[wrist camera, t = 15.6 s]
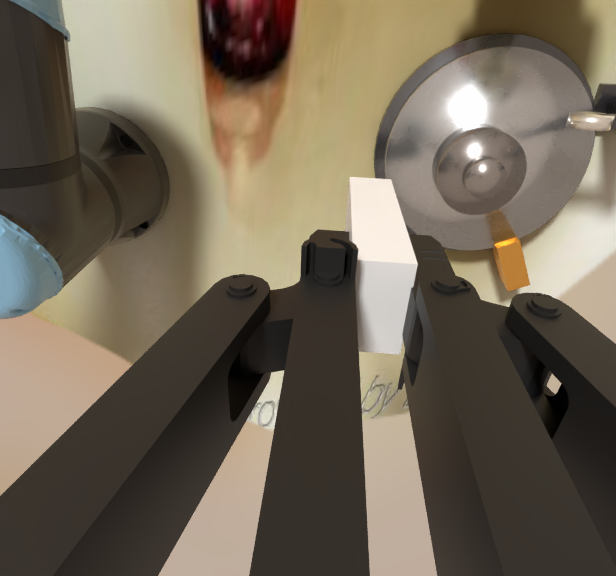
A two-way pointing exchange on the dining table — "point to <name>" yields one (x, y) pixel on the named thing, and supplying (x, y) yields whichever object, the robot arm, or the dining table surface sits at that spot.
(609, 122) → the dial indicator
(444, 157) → the cover
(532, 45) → the turntable base
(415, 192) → the turntable
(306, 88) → the dining table surface
